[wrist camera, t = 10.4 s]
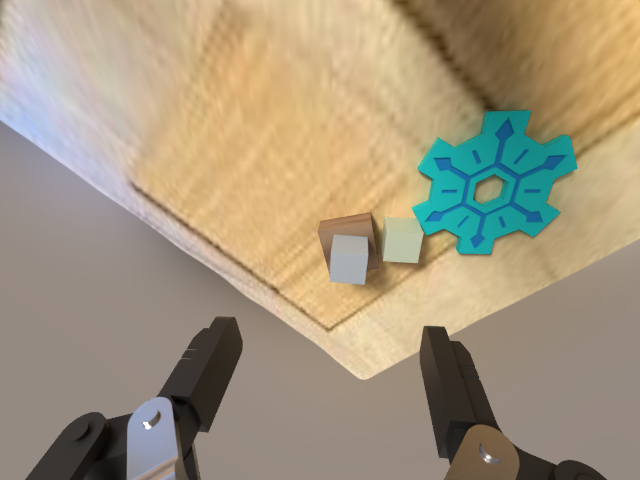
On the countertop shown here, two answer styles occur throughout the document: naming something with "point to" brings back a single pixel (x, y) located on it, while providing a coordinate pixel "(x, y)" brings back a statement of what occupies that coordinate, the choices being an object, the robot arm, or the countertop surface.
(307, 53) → the countertop surface
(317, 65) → the countertop surface
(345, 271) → the slate cube
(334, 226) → the walnut base
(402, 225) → the sage block
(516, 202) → the decorative ornament
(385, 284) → the countertop surface
